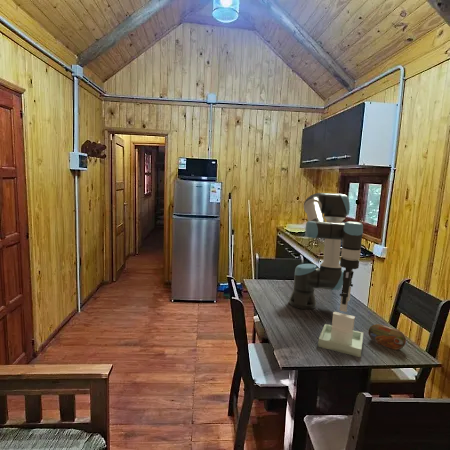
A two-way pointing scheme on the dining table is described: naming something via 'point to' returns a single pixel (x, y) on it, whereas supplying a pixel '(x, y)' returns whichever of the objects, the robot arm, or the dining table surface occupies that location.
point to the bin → (343, 348)
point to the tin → (387, 336)
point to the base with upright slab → (342, 328)
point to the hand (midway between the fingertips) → (344, 305)
